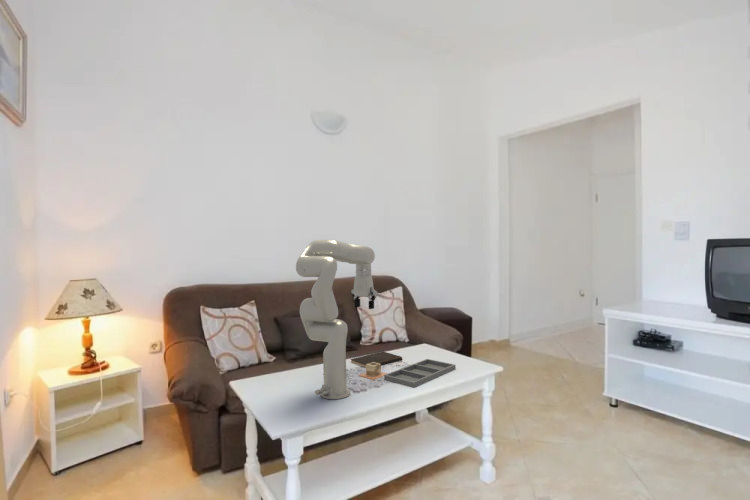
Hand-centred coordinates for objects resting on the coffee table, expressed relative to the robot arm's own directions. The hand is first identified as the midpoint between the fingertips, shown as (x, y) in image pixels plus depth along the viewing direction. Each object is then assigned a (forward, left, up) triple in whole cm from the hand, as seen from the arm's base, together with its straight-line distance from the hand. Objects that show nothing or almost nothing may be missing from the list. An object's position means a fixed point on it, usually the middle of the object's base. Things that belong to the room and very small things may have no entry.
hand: (364, 307), depth 204 cm
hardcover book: (+16, +7, -32) cm, 37 cm away
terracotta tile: (-3, -8, -31) cm, 33 cm away
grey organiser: (+12, -25, -31) cm, 42 cm away
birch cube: (-3, -8, -31) cm, 32 cm away
